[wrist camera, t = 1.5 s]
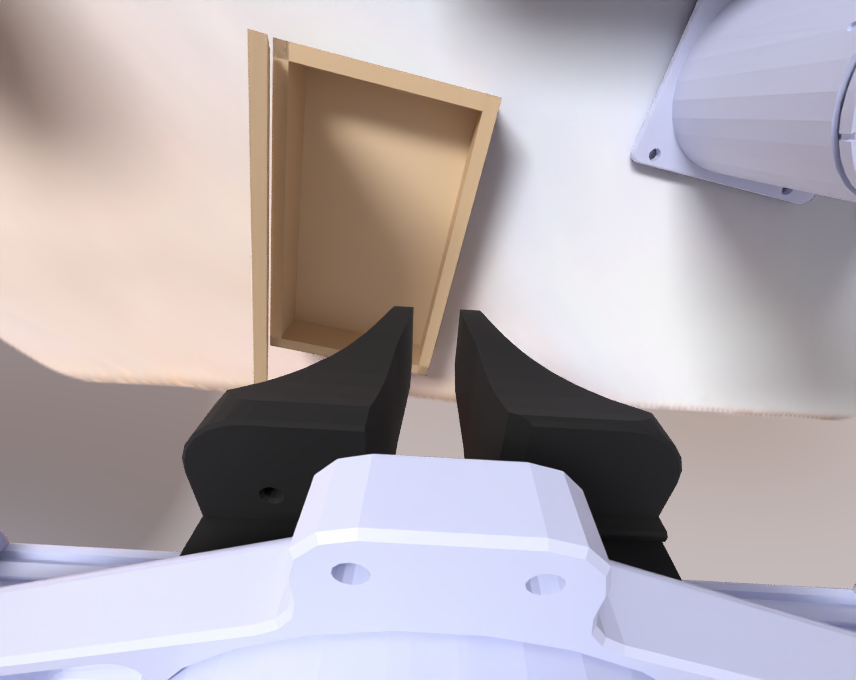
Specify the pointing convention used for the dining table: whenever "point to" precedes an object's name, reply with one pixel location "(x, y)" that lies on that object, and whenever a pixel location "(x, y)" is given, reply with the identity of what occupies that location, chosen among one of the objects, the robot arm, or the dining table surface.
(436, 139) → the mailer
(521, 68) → the dining table surface
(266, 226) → the lid
